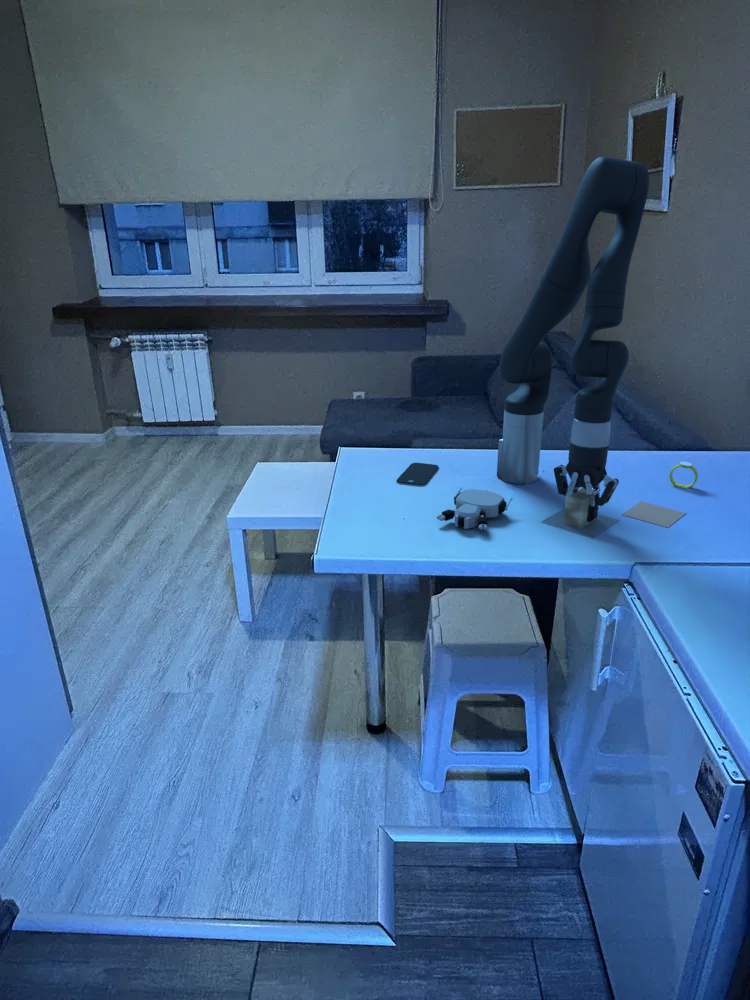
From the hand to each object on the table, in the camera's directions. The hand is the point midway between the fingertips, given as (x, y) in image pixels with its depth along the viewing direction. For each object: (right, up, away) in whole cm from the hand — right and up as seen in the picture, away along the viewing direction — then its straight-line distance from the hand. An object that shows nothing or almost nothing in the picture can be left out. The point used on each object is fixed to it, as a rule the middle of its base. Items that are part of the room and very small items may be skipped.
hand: (580, 517), depth 144 cm
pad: (+17, 0, +3) cm, 17 cm away
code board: (0, -1, 0) cm, 1 cm away
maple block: (0, -1, 0) cm, 1 cm away
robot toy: (-22, -1, +2) cm, 22 cm away
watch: (+30, +7, +19) cm, 36 cm away
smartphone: (-33, +10, +28) cm, 44 cm away
